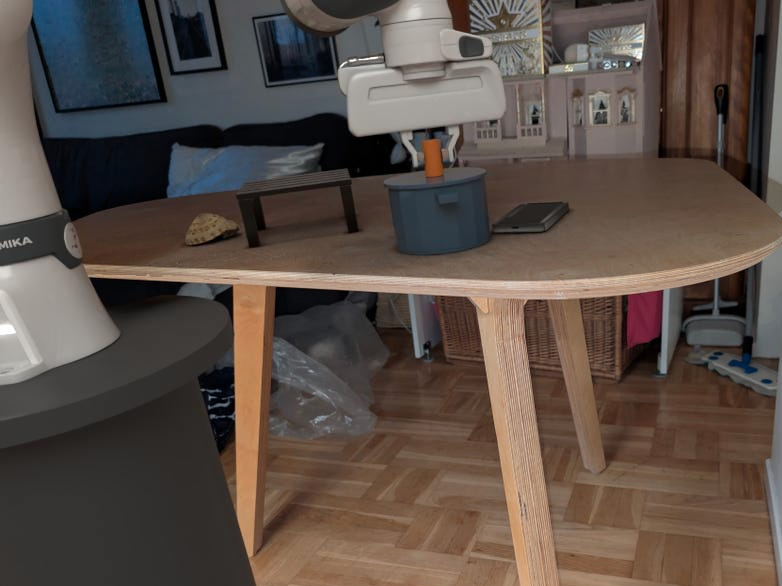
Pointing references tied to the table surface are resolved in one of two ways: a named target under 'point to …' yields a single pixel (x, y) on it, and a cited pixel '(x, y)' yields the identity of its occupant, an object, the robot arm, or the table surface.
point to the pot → (440, 218)
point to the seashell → (209, 228)
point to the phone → (530, 217)
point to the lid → (434, 172)
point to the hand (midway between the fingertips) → (433, 164)
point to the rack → (256, 189)
